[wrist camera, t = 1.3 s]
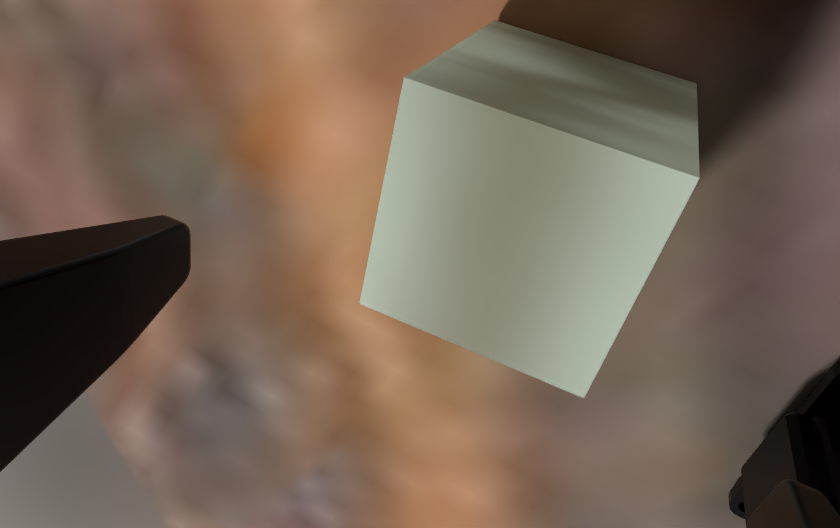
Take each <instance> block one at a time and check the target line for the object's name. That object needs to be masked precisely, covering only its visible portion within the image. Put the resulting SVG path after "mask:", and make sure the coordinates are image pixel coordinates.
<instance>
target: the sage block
mask: <svg viewBox="0 0 840 528" xmlns="http://www.w3.org/2000/svg"><path fill="white" fill-rule="evenodd" d="M699 178H700V174H699V141H698V108H697V83H694V82H691V81H687V80H684V79H681V78H678V77H675V76H671V75H668V74H665V73H662V72H659V71H655V70H652V69H649V68H646V67H643V66H639V65H636V64H633V63H630V62H627V61H623V60H620V59H617V58H614V57H611V56H608V55H604V54H601V53H598V52H595V51H592V50H588V49H585V48H582V47H579V46H576V45H572V44H569V43H566V42H563V41H560V40H556V39H553V38H550V37H547V36H544V35H540V34H537V33H534V32H531V31H528V30H524V29H521V28H518V27H515V26H512V25H508V24H505V23H502V22H499V21H496V20H495V21H493V22H492V23H490V24H488V25H487V26H485V27H484V28H482V29H480V30H479V31H477V32H476V33H474V34H472V35H471V36H469V37H468V38H466V39H464V40H463V41H461V42H460V43H458V44H456V45H455V46H453V47H452V48H450V49H449V50H447V51H445V52H444V53H442V54H441V55H439V56H437V57H436V58H434V59H433V60H431V61H429V62H428V63H426V64H425V65H423V66H421V67H420V68H418V69H417V70H415V71H413V72H412V73H410V74H409V75H407V76H406V77H404V81H403V86H402V91H401V96H400V101H399V106H398V111H397V116H396V121H395V126H394V131H393V136H392V141H391V146H390V151H389V157H388V162H387V167H386V172H385V177H384V182H383V187H382V192H381V197H380V202H379V207H378V212H377V217H376V222H375V227H374V232H373V238H372V243H371V248H370V253H369V258H368V263H367V268H366V273H365V278H364V283H363V288H362V293H361V298H360V303H359V304H361V305H364V306H366V307H368V308H371V309H373V310H375V311H378V312H380V313H383V314H385V315H387V316H390V317H392V318H394V319H397V320H399V321H402V322H404V323H406V324H409V325H411V326H413V327H416V328H418V329H421V330H423V331H425V332H428V333H430V334H432V335H435V336H437V337H440V338H442V339H444V340H447V341H449V342H451V343H454V344H456V345H459V346H461V347H463V348H466V349H468V350H470V351H473V352H475V353H478V354H480V355H482V356H485V357H487V358H489V359H492V360H494V361H497V362H499V363H501V364H504V365H506V366H508V367H511V368H513V369H516V370H518V371H520V372H523V373H525V374H527V375H530V376H532V377H535V378H537V379H539V380H542V381H544V382H546V383H549V384H551V385H554V386H556V387H558V388H561V389H563V390H565V391H568V392H570V393H573V394H575V395H577V396H580V397H582V398H584V397H585V395H586V393H587V391H588V389H589V388H590V386H591V384H592V382H593V380H594V378H595V376H596V374H597V372H598V370H599V369H600V367H601V365H602V363H603V361H604V359H605V357H606V355H607V353H608V351H609V350H610V348H611V346H612V344H613V342H614V340H615V338H616V336H617V334H618V332H619V330H620V329H621V327H622V325H623V323H624V321H625V319H626V317H627V315H628V313H629V311H630V310H631V308H632V306H633V304H634V302H635V300H636V298H637V296H638V294H639V292H640V291H641V289H642V287H643V285H644V283H645V281H646V279H647V277H648V275H649V273H650V272H651V270H652V268H653V266H654V264H655V262H656V260H657V258H658V256H659V254H660V252H661V251H662V249H663V247H664V245H665V243H666V241H667V239H668V237H669V235H670V233H671V232H672V230H673V228H674V226H675V224H676V222H677V220H678V218H679V216H680V214H681V213H682V211H683V209H684V207H685V205H686V203H687V201H688V199H689V197H690V195H691V194H692V192H693V190H694V188H695V186H696V184H697V182H698V180H699Z"/></svg>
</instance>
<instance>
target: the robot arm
mask: <svg viewBox="0 0 840 528" xmlns="http://www.w3.org/2000/svg"><path fill="white" fill-rule="evenodd" d="M190 267H191V243H190V230H189V227H188V226H187V225H186V224H185V223H183V222H180V221H178V220H176V219H173V218H171V217H168V216H163V215H161V216H154V217H148V218H142V219H135V220H129V221H123V222H116V223H110V224H104V225H97V226H91V227H85V228H79V229H72V230H66V231H60V232H53V233H47V234H41V235H34V236H28V237H22V238H15V239H9V240H3V241H0V472H1V471H2V470H3V469H4V468H5V467H6V466H7V465H8V464H9V463H10V462H11V461H12V460H13V459H14V458H15V457H16V456H17V455H19V454H20V453H21V452H22V451H23V450H24V449H25V448H26V447H27V446H28V445H29V444H30V443H31V442H32V441H33V440H34V439H35V438H36V437H37V436H38V435H39V434H40V433H41V432H42V431H43V430H45V429H46V428H47V427H48V426H49V425H50V424H51V423H52V422H53V421H54V420H55V419H56V418H57V417H58V416H59V415H60V414H61V413H62V412H63V411H64V410H65V409H66V408H68V406H70V404H72V403H73V402H74V401H75V400H76V399H77V398H78V397H79V396H80V395H81V394H82V393H83V392H84V391H85V390H86V389H87V388H88V387H89V386H90V385H92V384H93V383H94V382H95V381H96V380H97V379H98V378H99V377H100V376H101V375H102V374H103V373H104V372H105V371H106V370H107V369H108V368H109V367H110V366H111V365H112V364H113V363H114V362H115V361H116V360H117V359H118V358H119V357H120V356H121V355H122V354H123V353H124V352H125V351H126V350H127V349H128V348H129V347H130V346H131V345H132V344H133V342H134V341H135V340H136V339H137V338H138V337H139V336H140V334H141V333H142V332H143V331H144V330H145V328H146V327H147V326H148V325H149V324H150V323H151V321H152V320H153V319H154V318H155V317H156V315H157V314H158V313H159V312H160V311H161V309H162V308H163V307H164V306H165V305H166V304H167V302H168V301H169V300H170V299H171V298H172V296H173V295H174V294H175V293H176V292H177V291H178V289H179V288H180V287H181V286H182V285H183V283H184V282H185V281H186V279H187V277H188V275H189V272H190ZM741 473H742V477H741V478H740V479H739V481H738V482H737V483H736V484H735V485H734V487H733V488H732V489H731V490H730V492H729V506H730V509H731V511H732V512H733V513H734V514H736V515H737V516H739V517H741V518H743V519H746V528H840V362H839V363H837V364H836V365H835V366H833V367H832V368H831V369H830V371H829V372H828V373H827V374H826V375H825V377H824V378H823V379H822V380H821V381H820V383H819V384H818V385H817V386H816V387H815V389H814V390H813V391H812V392H811V394H810V395H809V396H808V397H807V398H806V400H805V401H804V402H803V403H802V404H801V406H800V407H799V408H798V409H797V410H796V412H792V413H789V414H787V415H785V416H783V417H782V419H781V420H780V421H779V422H778V423H777V425H776V426H775V427H774V428H773V430H772V431H771V432H770V433H769V434H768V436H767V437H766V438H765V439H764V441H763V442H762V443H761V444H760V445H759V447H758V448H757V449H756V450H755V452H754V453H753V454H752V455H751V457H750V458H749V459H748V460H747V461H746V463H745V464H744V465H743V466H742V469H741Z"/></svg>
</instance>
